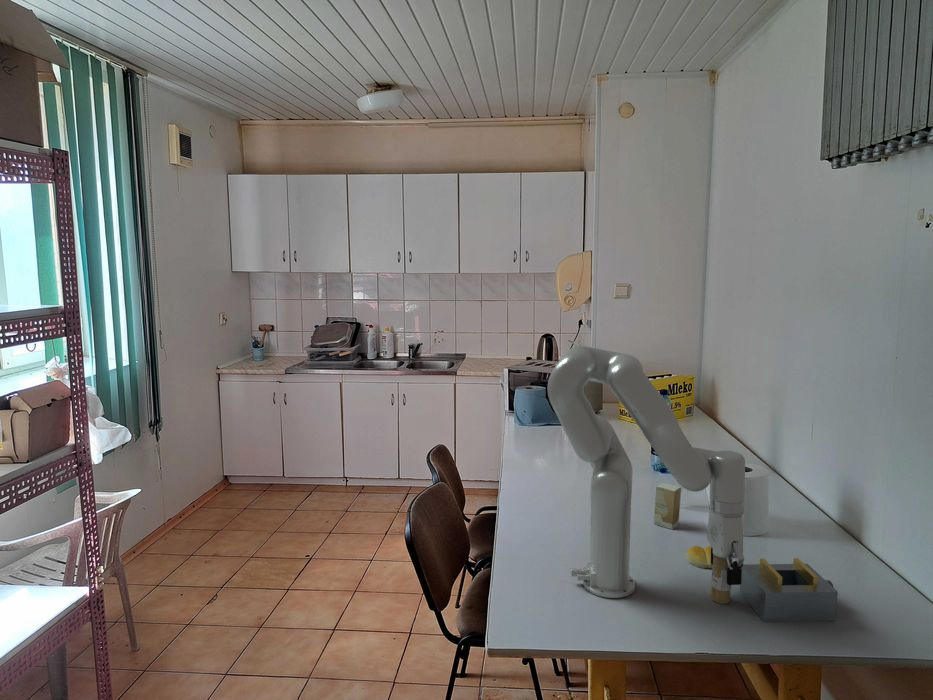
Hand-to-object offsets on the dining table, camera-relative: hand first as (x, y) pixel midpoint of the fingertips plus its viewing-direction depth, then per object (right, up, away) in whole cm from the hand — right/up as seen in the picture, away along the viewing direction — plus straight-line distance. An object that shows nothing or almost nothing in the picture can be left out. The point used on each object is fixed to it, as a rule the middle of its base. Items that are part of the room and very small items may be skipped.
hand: (725, 573), depth 154 cm
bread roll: (+2, -4, +20) cm, 21 cm away
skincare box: (-1, 0, +43) cm, 43 cm away
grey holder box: (+13, -7, -2) cm, 15 cm away
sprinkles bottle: (-1, -7, +1) cm, 7 cm away
